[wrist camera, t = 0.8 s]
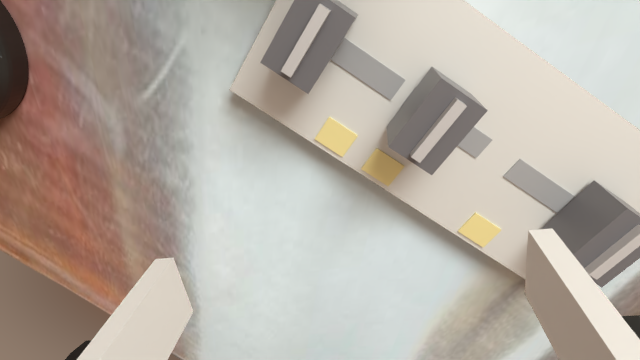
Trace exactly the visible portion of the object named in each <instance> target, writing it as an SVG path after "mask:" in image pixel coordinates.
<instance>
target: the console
mask: <svg viewBox="0 0 640 360" xmlns="http://www.w3.org/2000/svg"><path fill="white" fill-rule="evenodd" d="M293 1H294V0H276V2H275V4H274V6H273V7H272V9H271V11H270V13H269V15H268V17H267V19H266V21H265V23H264V25H263V27H262V28H261V30H260V32H259V34H258V36H257V38H256V40H255V42H254V44H253V46H252V48H251V49H250V51H249V53H248V55H247V57H246V59H245V61H244V63H243V65H242V67H241V68H240V70H239V72H238V74H237V76H236V78H235V80H234V82H233V84H232V86H231V88H230V89H229V90H230V91H232V92H233V93H235V94H237V95H238V96H240V97H241V98H243V99H244V100H246V101H247V102H249V103H251V104H252V105H254V106H255V107H257V108H258V109H260V110H262V111H263V112H265V113H266V114H268V115H269V116H271V117H272V118H274V119H276V120H277V121H279V122H280V123H282V124H283V125H285V126H286V127H288V128H290V129H291V130H293V131H294V132H296V133H297V134H299V135H301V136H302V137H304V138H305V139H307V140H308V141H310V142H311V143H313V144H315V145H316V146H318V147H319V148H321V149H322V150H324V151H325V152H327V153H329V154H330V155H332V156H333V157H335V158H336V159H338V160H340V161H341V162H343V163H344V164H346V165H347V166H349V167H350V168H352V169H354V170H355V171H357V172H358V173H360V174H361V175H363V176H364V177H366V178H368V179H369V180H371V181H372V182H374V183H375V184H377V185H379V186H380V187H382V188H383V189H385V190H386V191H388V192H389V193H391V194H393V195H394V196H396V197H397V198H399V199H400V200H402V201H403V202H405V203H407V204H408V205H410V206H411V207H413V208H414V209H416V210H418V211H419V212H421V213H422V214H424V215H425V216H427V217H428V218H430V219H432V220H433V221H435V222H436V223H438V224H439V225H441V226H443V227H444V228H446V229H447V230H449V231H450V232H452V233H453V234H455V235H457V236H458V237H460V238H461V239H463V240H464V241H466V242H467V243H469V244H471V245H472V246H474V247H475V248H477V249H478V250H480V251H482V252H483V253H485V254H486V255H488V256H489V257H491V258H492V259H494V260H496V261H497V262H499V263H500V264H502V265H503V266H505V267H506V268H508V269H510V270H511V271H513V272H514V273H516V274H517V275H519V276H521V277H522V278H524V279H525V280H526V263H527V245H528V230H538V229H541V228H542V227H544V226H545V225H546V224H547V223H548V222H549V221H550V220H551V219H552V218H553V217H554V216H556V215H557V214H558V213H559V212H560V211H561V210H562V209H563V208H564V207H565V206H566V205H567V204H569V203H570V202H571V201H572V200H573V199H574V198H575V197H576V196H577V195H578V194H579V193H581V192H582V191H583V190H584V189H585V188H586V187H587V186H588V185H589V184H590V183H591V182H593V181H594V180H595V181H596V182H597V183H599V184H600V185H602V186H603V187H605V188H606V189H607V190H609V191H610V192H612V193H613V194H615V195H616V196H617V197H619V198H620V199H622V200H623V201H625V202H626V203H627V204H629V205H630V206H631V207H633V208H634V209H635V210H636V211H637V212H639V213H640V130H639V129H638V128H636V127H635V126H634V125H632V124H631V123H630V122H628V121H627V120H625V119H624V118H623V117H621V116H620V115H619V114H617V113H616V112H615V111H613V110H612V109H611V108H609V107H608V106H606V105H605V104H604V103H602V102H601V101H600V100H598V99H597V98H596V97H594V96H593V95H592V94H590V93H589V92H587V91H586V90H585V89H583V88H582V87H581V86H579V85H578V84H577V83H575V82H574V81H573V80H571V79H570V78H569V77H567V76H566V75H564V74H563V73H562V72H560V71H559V70H558V69H556V68H555V67H554V66H552V65H551V64H550V63H548V62H547V61H545V60H544V59H543V58H541V57H540V56H539V55H537V54H536V53H535V52H533V51H532V50H531V49H529V48H528V47H526V46H525V45H524V44H522V43H521V42H520V41H518V40H517V39H516V38H514V37H513V36H512V35H510V34H509V33H507V32H506V31H505V30H503V29H502V28H501V27H499V26H498V25H497V24H495V23H494V22H493V21H491V20H490V19H488V18H487V17H486V16H484V15H483V14H482V13H480V12H479V11H478V10H476V9H475V8H474V7H472V6H471V5H469V4H468V3H467V2H465V1H464V0H338V1H339V2H341V3H342V4H344V5H345V6H347V7H348V8H349V9H351V10H352V11H354V12H355V13H357V14H358V16H357V18H356V19H355V21H354V23H353V24H352V26H351V27H350V29H349V31H348V32H347V34H346V35H345V37H344V39H343V40H342V42H341V43H340V45H339V47H338V48H337V50H336V51H335V53H334V55H333V56H332V58H331V59H330V61H329V63H328V64H327V66H326V67H325V69H324V71H323V72H322V74H321V75H320V77H319V79H318V80H317V82H316V83H315V85H314V86H313V88H312V89H311V91H310V92H309V94H307V93H306V92H304V91H303V90H301V89H300V88H298V87H297V86H295V85H294V84H292V83H291V82H289V81H288V80H286V79H285V78H283V77H281V76H280V75H278V74H277V73H275V72H274V71H272V70H271V69H269V68H268V67H266V66H265V65H263V64H262V63H260V62H261V60H262V58H263V57H264V55H265V53H266V51H267V49H268V47H269V45H270V44H271V42H272V40H273V38H274V36H275V34H276V33H277V31H278V29H279V27H280V25H281V23H282V22H283V20H284V18H285V16H286V14H287V12H288V11H289V9H290V7H291V5H292V3H293ZM431 67H434V68H435V69H436V70H438V71H439V72H441V73H442V74H444V75H445V76H446V77H448V78H449V79H451V80H452V81H453V82H455V83H456V84H458V85H459V86H461V87H462V88H463V89H465V90H466V91H468V92H469V93H471V94H472V95H473V96H474V97H475V98H476V99H477V100H478V101H479V102H480V103H481V104H482V105H483V106H484V107H485V108H486V109H487V110H488V111H487V112H486V113H485V114H484V116H483V117H482V118H481V119H480V120H479V121H478V123H477V124H476V125H475V126H474V127H473V128H472V129H471V131H470V132H469V133H468V134H467V135H466V136H465V138H464V139H463V140H462V141H461V142H460V143H459V145H458V146H457V147H456V148H455V149H454V150H453V152H452V153H451V154H450V155H449V156H448V157H447V159H446V160H445V161H444V162H443V163H442V164H441V165H440V167H439V168H438V169H437V170H436V171H435V172H434V174H433V175H430V174H429V173H427V172H426V171H424V170H423V169H421V168H420V167H418V166H417V165H415V164H414V163H412V162H411V161H409V160H408V159H406V158H404V157H403V156H401V155H400V154H398V153H397V152H395V151H394V150H392V149H391V148H389V147H388V139H387V128H386V127H387V125H388V124H389V123H390V121H391V120H392V119H393V117H394V116H395V115H396V113H397V112H398V111H399V109H400V108H401V107H402V105H403V104H404V103H405V101H406V100H407V99H408V97H409V96H410V95H411V93H412V92H413V91H414V89H415V88H416V87H417V85H418V84H419V83H420V81H421V80H422V79H423V77H424V76H425V75H426V73H427V72H428V71H429V69H430V68H431Z"/></svg>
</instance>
